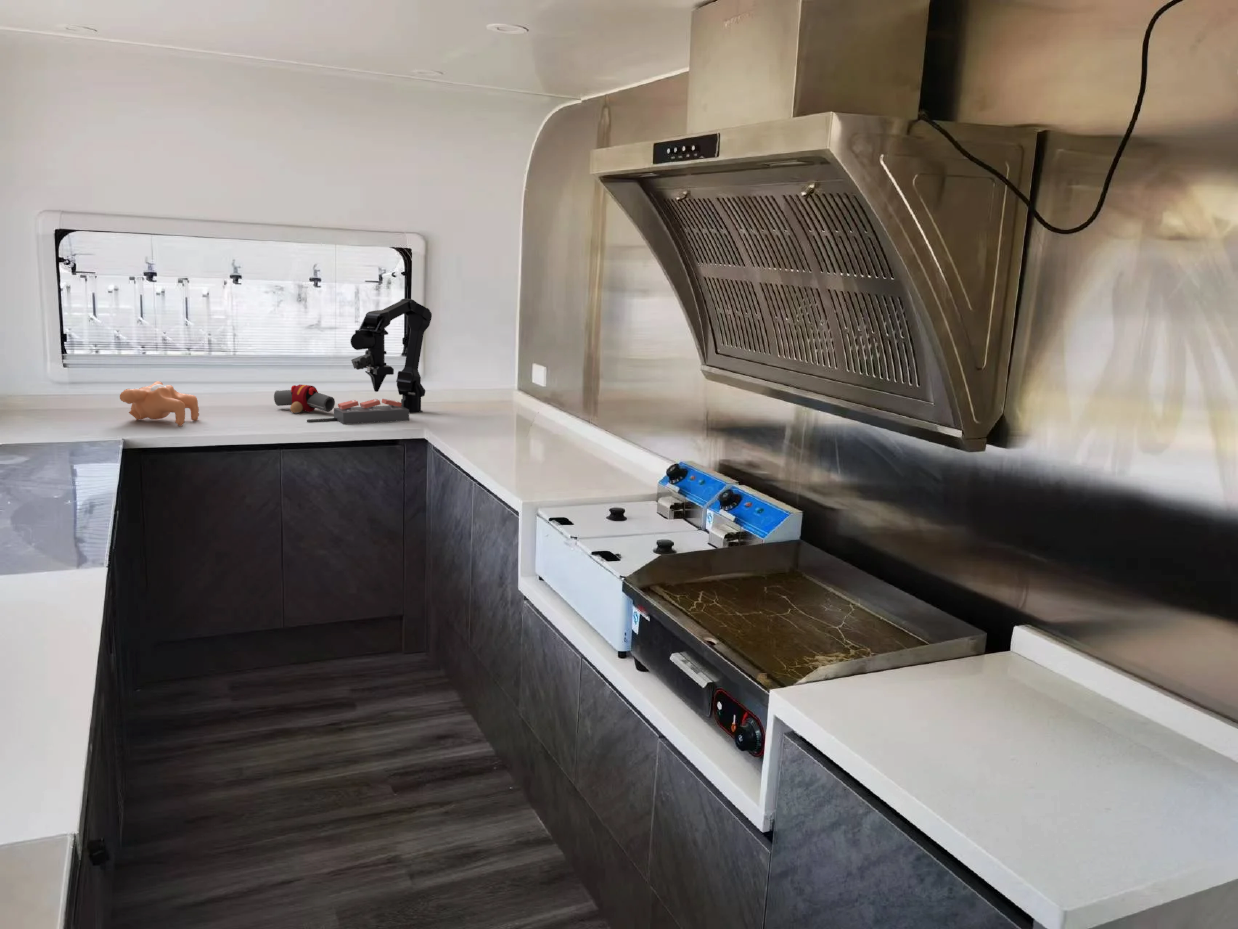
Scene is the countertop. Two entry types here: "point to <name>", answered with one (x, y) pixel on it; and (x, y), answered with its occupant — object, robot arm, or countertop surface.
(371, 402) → the plate
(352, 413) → the power strip
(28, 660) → the countertop surface
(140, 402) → the figurine
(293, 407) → the toy
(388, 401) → the red rectangular block
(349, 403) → the rocker
